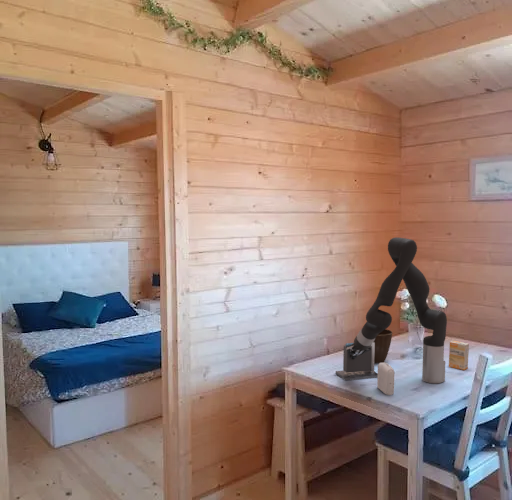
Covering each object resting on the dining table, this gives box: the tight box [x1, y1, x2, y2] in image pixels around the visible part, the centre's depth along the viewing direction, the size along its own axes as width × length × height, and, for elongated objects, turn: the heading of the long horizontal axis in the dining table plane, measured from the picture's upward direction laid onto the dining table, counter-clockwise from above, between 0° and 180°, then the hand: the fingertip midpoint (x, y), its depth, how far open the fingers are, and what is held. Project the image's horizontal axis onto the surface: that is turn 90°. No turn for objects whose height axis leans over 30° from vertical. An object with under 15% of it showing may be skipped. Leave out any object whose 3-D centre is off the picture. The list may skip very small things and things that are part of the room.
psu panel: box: [335, 369, 378, 382], centre depth 246 cm, size 18×11×2 cm, turn 106°
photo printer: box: [376, 362, 395, 396], centre depth 225 cm, size 10×4×12 cm, turn 11°
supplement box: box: [448, 340, 470, 371], centre depth 258 cm, size 8×5×13 cm, turn 45°
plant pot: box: [374, 328, 393, 364], centre depth 269 cm, size 15×15×16 cm
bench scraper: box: [342, 342, 375, 373], centre depth 246 cm, size 15×4×14 cm, turn 105°
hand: (352, 357), depth 242 cm, fingers closed
